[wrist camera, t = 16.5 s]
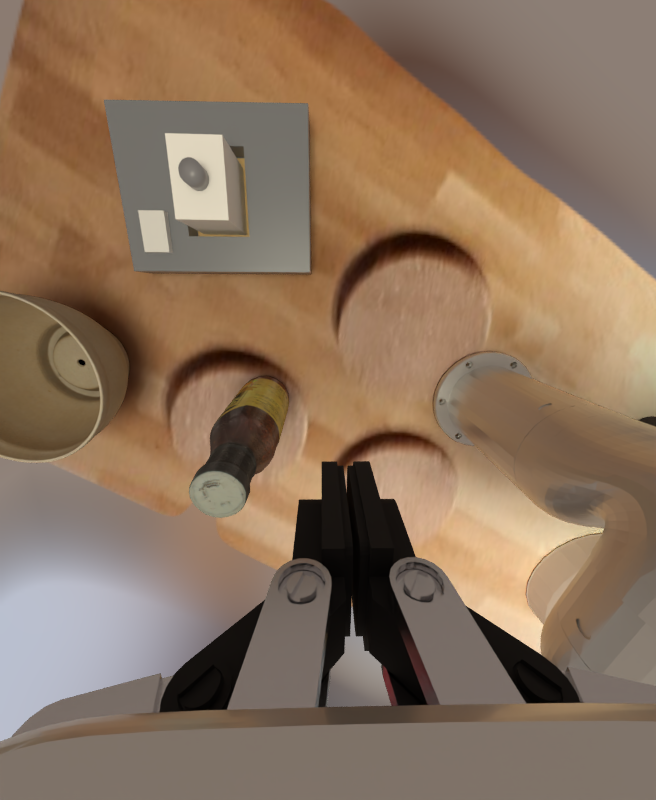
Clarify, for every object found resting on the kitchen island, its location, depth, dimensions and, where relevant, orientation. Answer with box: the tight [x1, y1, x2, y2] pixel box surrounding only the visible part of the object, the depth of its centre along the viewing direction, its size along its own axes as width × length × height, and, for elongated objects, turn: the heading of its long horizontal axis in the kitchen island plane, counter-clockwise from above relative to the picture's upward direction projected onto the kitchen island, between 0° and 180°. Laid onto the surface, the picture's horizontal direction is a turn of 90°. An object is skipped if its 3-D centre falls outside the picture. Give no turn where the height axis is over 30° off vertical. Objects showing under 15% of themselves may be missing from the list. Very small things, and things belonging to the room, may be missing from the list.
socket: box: [104, 100, 311, 275], centre depth 31 cm, size 18×14×4 cm
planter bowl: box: [0, 291, 130, 463], centre depth 33 cm, size 16×16×11 cm
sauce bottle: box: [189, 376, 289, 518], centre depth 31 cm, size 7×6×20 cm
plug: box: [165, 133, 247, 235], centre depth 28 cm, size 4×6×9 cm
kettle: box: [526, 534, 602, 625], centre depth 43 cm, size 20×21×18 cm
